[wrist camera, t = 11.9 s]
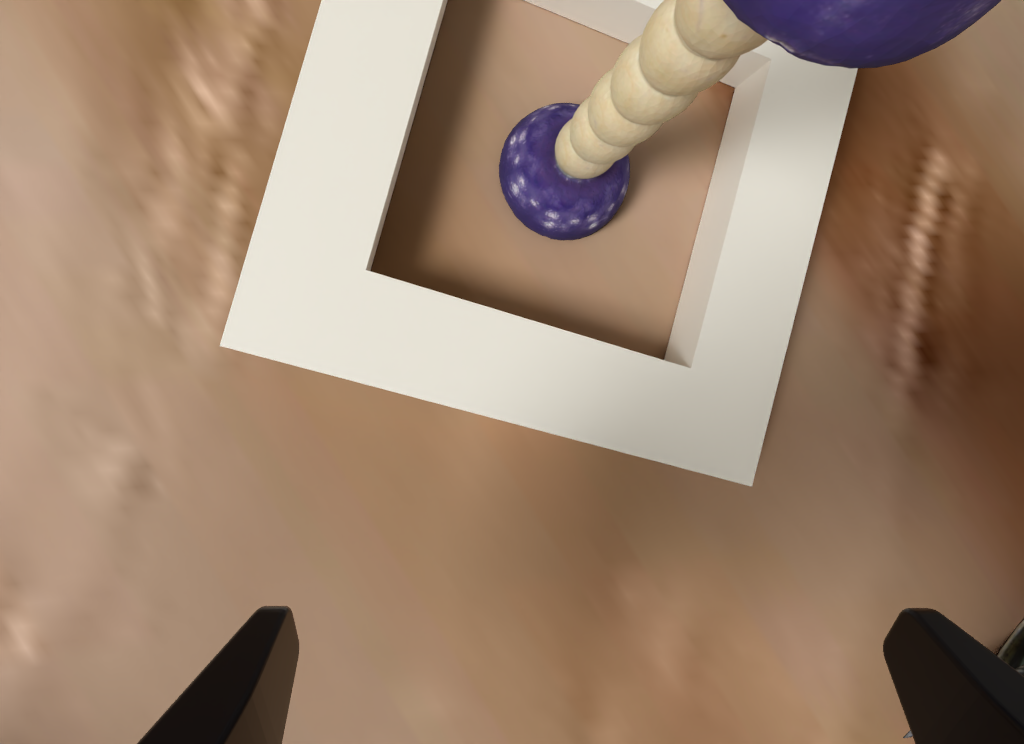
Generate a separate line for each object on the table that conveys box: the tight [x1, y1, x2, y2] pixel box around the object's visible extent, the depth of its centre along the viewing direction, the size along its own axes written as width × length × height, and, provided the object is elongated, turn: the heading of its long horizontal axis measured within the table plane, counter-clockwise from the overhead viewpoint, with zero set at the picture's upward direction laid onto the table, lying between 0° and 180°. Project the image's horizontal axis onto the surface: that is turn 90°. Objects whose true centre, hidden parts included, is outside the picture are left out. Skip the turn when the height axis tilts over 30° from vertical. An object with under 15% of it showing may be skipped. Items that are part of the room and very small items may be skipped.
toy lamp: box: [499, 0, 1001, 240], centre depth 12 cm, size 5×5×17 cm
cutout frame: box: [220, 0, 858, 487], centre depth 19 cm, size 16×16×2 cm
